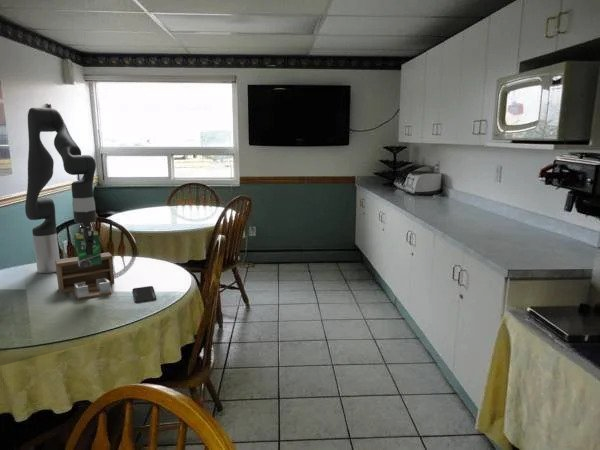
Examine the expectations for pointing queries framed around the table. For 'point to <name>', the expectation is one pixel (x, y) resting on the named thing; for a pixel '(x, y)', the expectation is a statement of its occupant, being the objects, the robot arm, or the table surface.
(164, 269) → the table surface
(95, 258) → the coffee box
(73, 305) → the table surface
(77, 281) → the walnut cabinet
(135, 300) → the phone
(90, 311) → the table surface
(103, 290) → the grey open rectangular frame
